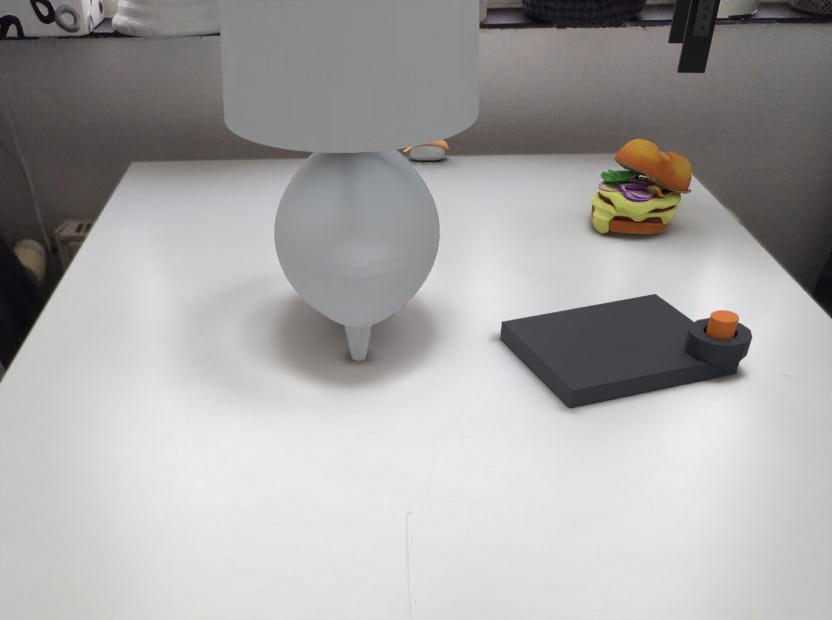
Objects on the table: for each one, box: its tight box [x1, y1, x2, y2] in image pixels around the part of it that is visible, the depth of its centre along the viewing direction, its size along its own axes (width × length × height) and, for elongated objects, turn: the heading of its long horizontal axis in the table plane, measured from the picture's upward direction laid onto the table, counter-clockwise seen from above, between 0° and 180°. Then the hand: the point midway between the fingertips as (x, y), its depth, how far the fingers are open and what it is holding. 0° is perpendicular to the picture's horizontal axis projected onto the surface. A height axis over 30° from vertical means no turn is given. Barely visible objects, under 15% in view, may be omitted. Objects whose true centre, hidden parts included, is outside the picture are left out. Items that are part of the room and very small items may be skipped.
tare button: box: [706, 309, 740, 339], centre depth 79 cm, size 2×2×2 cm
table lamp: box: [218, 0, 480, 362], centre depth 75 cm, size 23×22×40 cm
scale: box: [499, 293, 753, 409], centre depth 83 cm, size 18×15×4 cm
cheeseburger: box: [590, 138, 693, 236], centre depth 104 cm, size 10×11×10 cm
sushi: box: [402, 139, 450, 162], centre depth 124 cm, size 3×6×3 cm, turn 88°
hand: (685, 57), depth 97 cm, fingers open, 13 cm apart
